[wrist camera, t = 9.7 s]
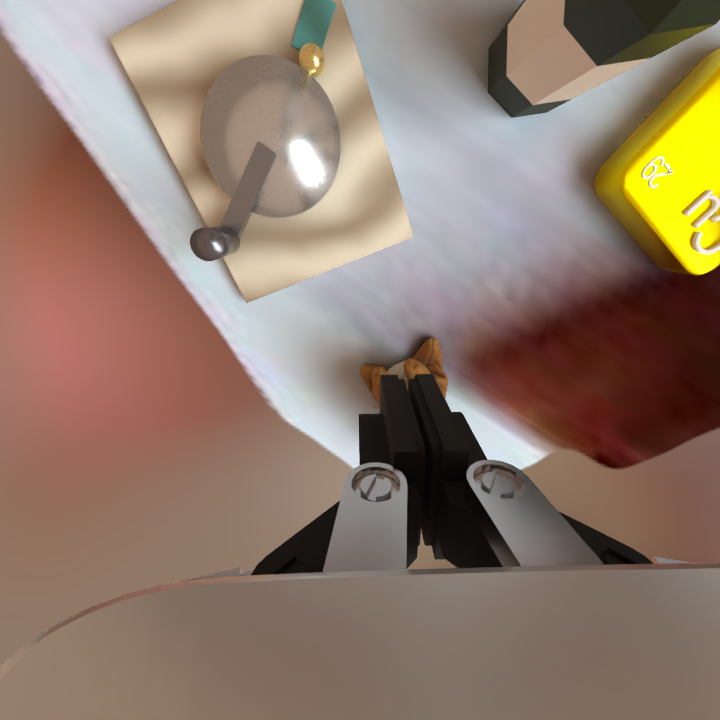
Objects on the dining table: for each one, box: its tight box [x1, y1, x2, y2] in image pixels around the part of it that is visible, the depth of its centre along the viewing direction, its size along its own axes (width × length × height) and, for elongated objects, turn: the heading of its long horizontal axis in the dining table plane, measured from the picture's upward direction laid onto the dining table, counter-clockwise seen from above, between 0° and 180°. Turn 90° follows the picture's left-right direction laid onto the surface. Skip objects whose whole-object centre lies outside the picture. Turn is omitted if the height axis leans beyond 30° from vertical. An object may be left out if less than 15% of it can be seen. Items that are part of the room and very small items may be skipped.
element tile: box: [594, 48, 720, 275], centre depth 33 cm, size 15×15×5 cm
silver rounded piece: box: [190, 42, 341, 261], centre depth 29 cm, size 19×12×7 cm, turn 147°
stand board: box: [109, 0, 414, 303], centre depth 33 cm, size 24×19×2 cm
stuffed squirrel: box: [360, 338, 448, 408], centre depth 38 cm, size 10×14×13 cm
